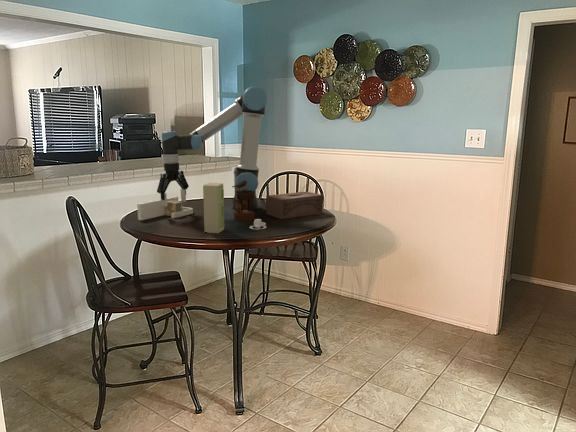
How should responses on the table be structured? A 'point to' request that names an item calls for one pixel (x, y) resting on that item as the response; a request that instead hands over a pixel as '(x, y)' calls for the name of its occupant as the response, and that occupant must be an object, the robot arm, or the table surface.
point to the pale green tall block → (213, 207)
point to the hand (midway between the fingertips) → (174, 203)
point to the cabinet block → (173, 207)
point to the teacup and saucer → (258, 224)
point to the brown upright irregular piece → (243, 195)
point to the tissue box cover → (294, 204)
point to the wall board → (159, 209)
